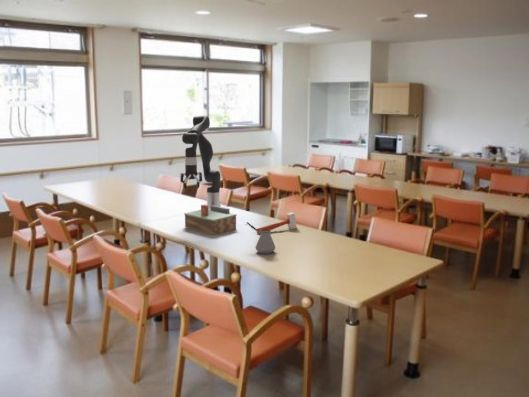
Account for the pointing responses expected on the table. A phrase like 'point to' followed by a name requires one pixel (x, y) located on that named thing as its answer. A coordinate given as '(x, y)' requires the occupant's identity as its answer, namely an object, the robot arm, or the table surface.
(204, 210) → the pin
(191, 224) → the toolbox
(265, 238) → the coffee pot
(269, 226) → the mallet
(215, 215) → the toolbox lid
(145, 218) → the table surface
